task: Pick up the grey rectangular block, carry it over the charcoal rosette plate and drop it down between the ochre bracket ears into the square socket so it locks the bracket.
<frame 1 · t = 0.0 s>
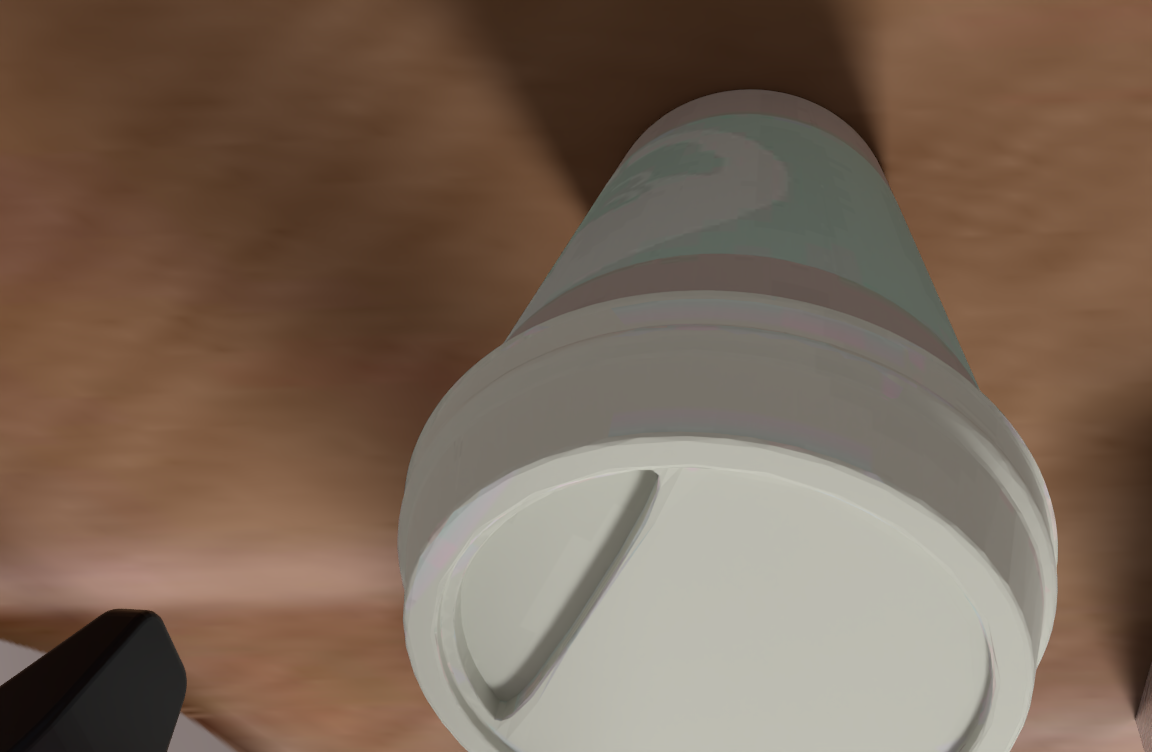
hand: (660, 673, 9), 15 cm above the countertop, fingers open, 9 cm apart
coffee cup: (746, 218, 23), on the countertop
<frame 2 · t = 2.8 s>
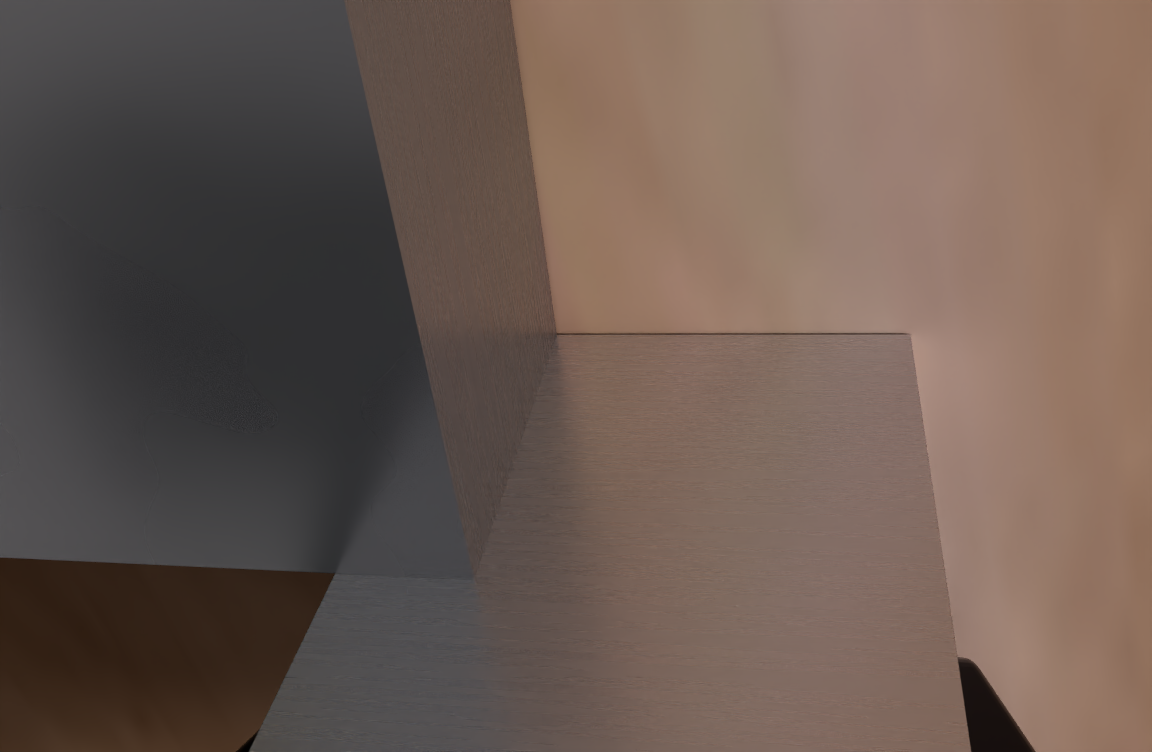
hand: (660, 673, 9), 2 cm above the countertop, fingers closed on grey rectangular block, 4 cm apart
grey rectangular block: (683, 507, 11), on the countertop, touching gripper
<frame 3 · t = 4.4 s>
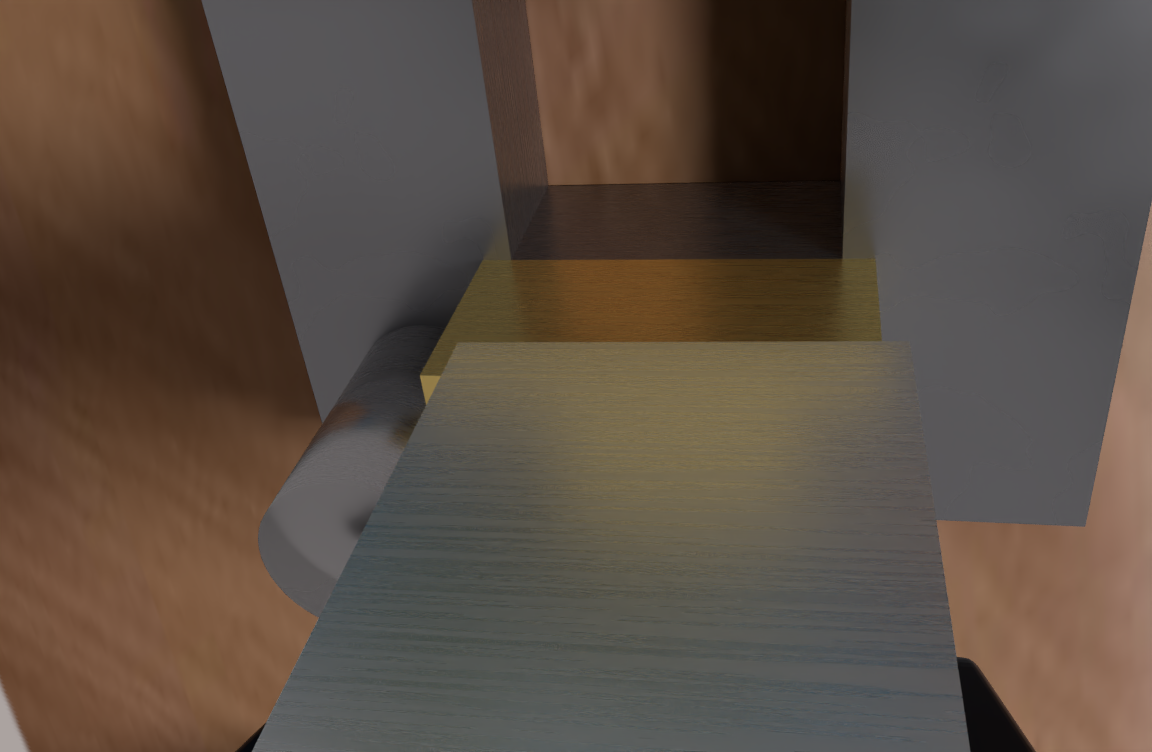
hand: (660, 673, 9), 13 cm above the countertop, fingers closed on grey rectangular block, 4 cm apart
rosette stand: (683, 37, 19), on the countertop
grey rectangular block: (686, 515, 11), point 11 cm above the countertop, touching gripper
when the fingers open (4 cm above the countertop, at t = 6.2 s): grey rectangular block drops 2 cm, resting in rosette stand.
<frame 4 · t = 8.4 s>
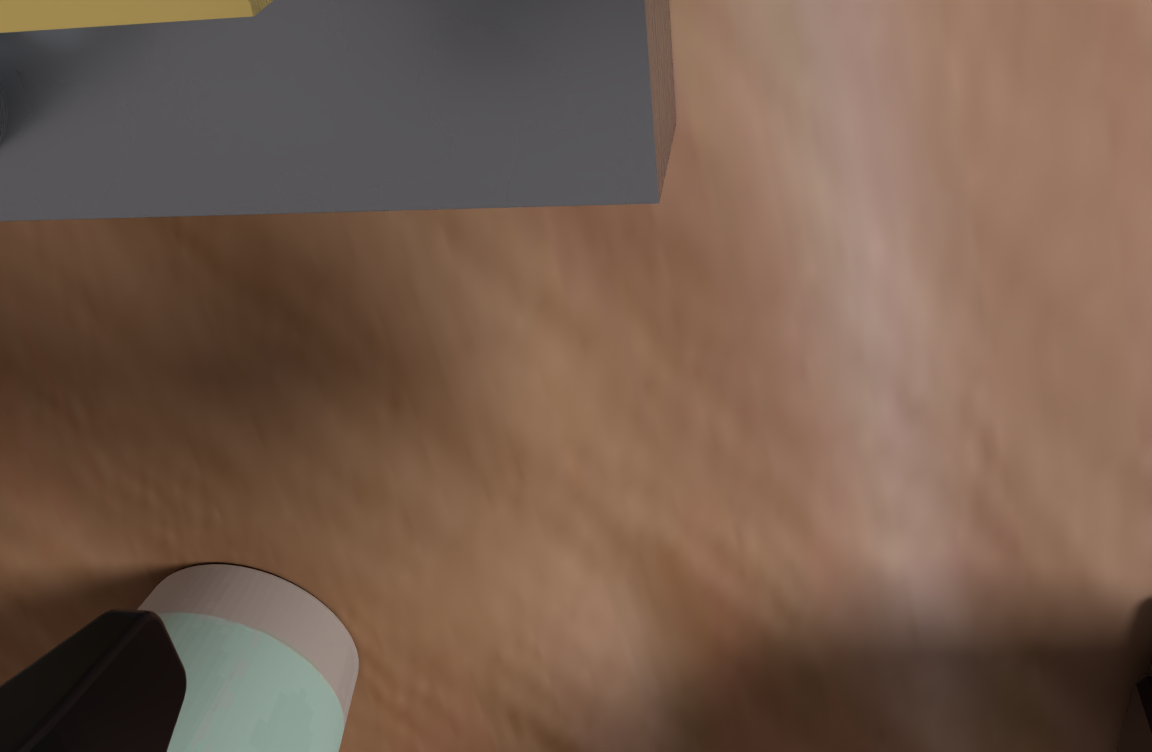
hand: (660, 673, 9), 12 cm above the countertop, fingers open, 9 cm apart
coffee cup: (257, 634, 29), on the countertop
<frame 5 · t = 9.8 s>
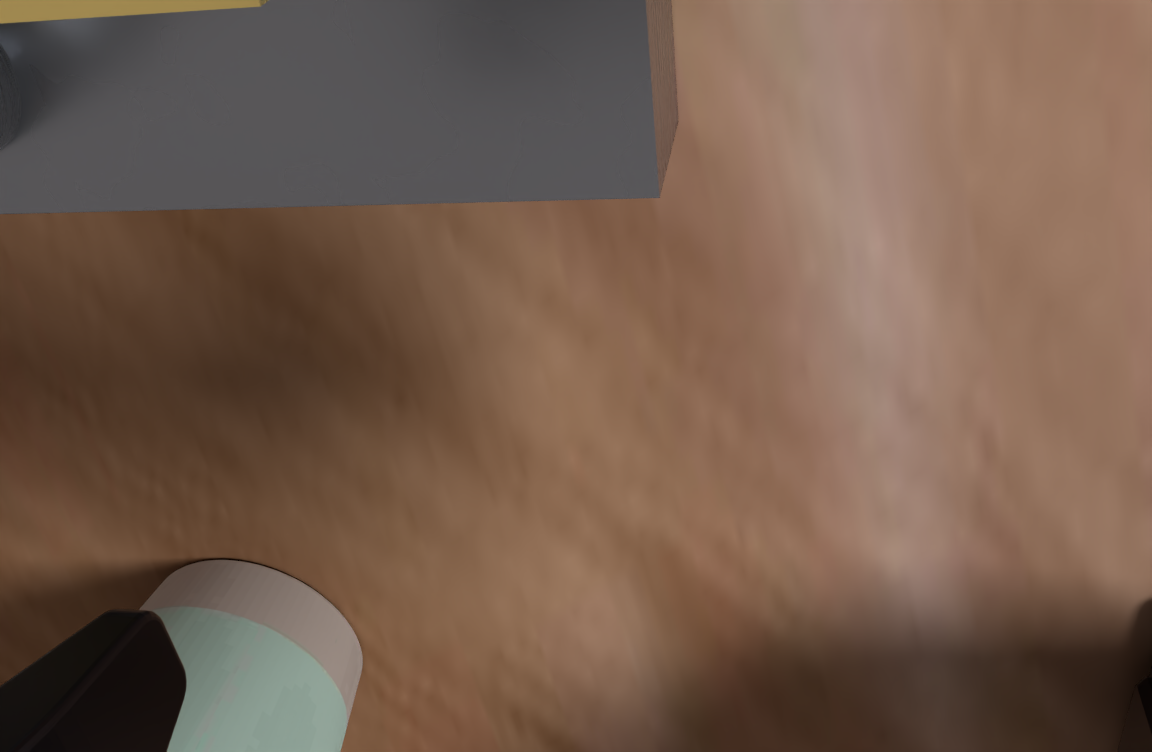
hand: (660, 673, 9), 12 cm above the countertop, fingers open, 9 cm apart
coffee cup: (262, 631, 29), on the countertop
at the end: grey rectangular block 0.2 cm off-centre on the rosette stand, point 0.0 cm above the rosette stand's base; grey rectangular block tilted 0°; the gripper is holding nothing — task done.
